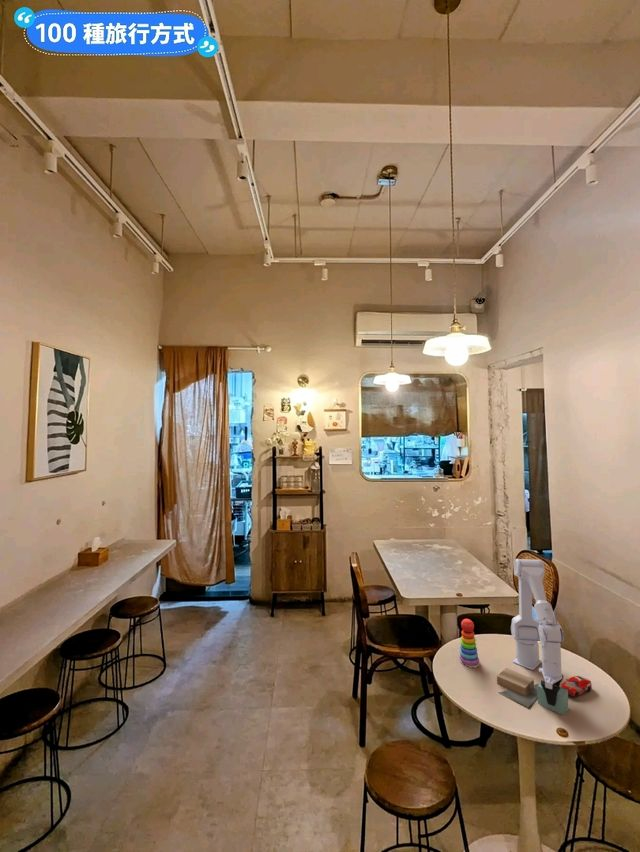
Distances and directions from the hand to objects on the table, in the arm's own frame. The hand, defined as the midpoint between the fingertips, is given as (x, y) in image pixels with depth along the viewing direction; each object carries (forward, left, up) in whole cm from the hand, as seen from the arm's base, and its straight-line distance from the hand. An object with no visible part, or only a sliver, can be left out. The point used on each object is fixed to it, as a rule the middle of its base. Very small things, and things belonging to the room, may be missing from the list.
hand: (552, 700), depth 137 cm
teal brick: (0, 0, -2) cm, 2 cm away
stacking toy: (-2, -32, -2) cm, 32 cm away
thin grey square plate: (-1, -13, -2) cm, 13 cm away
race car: (-12, +3, -4) cm, 12 cm away
